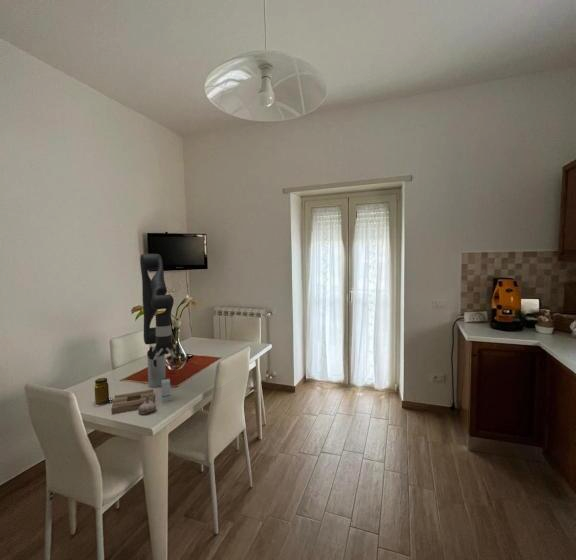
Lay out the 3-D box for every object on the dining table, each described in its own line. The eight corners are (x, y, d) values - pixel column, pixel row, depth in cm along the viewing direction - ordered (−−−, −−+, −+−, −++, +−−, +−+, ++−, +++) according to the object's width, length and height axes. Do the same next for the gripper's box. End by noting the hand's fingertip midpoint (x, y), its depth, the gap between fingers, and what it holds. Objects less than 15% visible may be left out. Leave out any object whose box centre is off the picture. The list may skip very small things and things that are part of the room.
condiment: (93, 402, 157) (92, 379, 157) (112, 397, 163) (111, 375, 162) (95, 407, 152) (94, 383, 151) (115, 402, 157) (114, 379, 156)
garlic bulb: (159, 409, 149) (158, 393, 148) (148, 416, 142) (148, 399, 141) (145, 407, 151) (145, 391, 150) (134, 414, 144) (134, 398, 143)
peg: (162, 398, 160) (161, 380, 159) (170, 397, 162) (169, 378, 161) (162, 402, 156) (161, 382, 155) (171, 400, 158) (170, 381, 157)
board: (115, 401, 158) (115, 395, 158) (153, 394, 165) (153, 389, 165) (111, 414, 144) (111, 408, 144) (153, 406, 151) (153, 400, 151)
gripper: (178, 331, 163) (179, 361, 164) (148, 334, 157) (149, 365, 158) (179, 334, 156) (180, 365, 157) (148, 337, 150) (149, 370, 151)
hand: (165, 365), depth 158 cm, fingers open, 8 cm apart
